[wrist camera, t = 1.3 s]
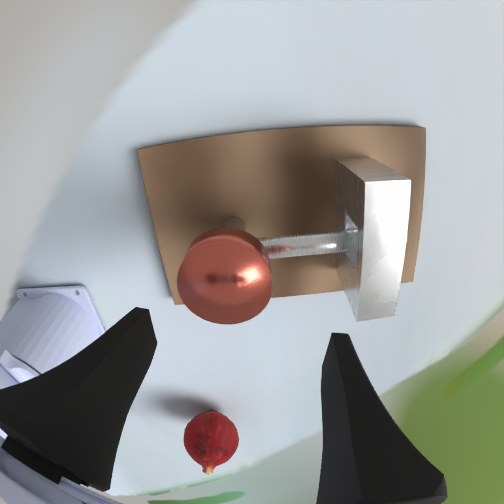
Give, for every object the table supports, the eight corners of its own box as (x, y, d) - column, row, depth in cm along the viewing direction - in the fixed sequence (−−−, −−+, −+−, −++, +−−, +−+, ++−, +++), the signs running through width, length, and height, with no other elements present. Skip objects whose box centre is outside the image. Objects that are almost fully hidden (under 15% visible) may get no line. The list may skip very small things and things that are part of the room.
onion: (182, 397, 31) (170, 460, 23) (234, 396, 30) (231, 462, 23) (196, 424, 33) (188, 480, 26) (243, 423, 33) (241, 482, 26)
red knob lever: (206, 260, 22) (188, 326, 15) (195, 199, 20) (167, 249, 13) (381, 243, 21) (423, 301, 15) (384, 183, 19) (437, 224, 13)
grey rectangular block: (335, 268, 22) (356, 321, 17) (334, 157, 19) (364, 181, 13) (366, 265, 22) (394, 315, 17) (369, 156, 18) (410, 180, 13)
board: (176, 298, 24) (174, 304, 24) (141, 148, 19) (137, 149, 18) (409, 276, 23) (412, 281, 23) (420, 126, 18) (425, 127, 17)
